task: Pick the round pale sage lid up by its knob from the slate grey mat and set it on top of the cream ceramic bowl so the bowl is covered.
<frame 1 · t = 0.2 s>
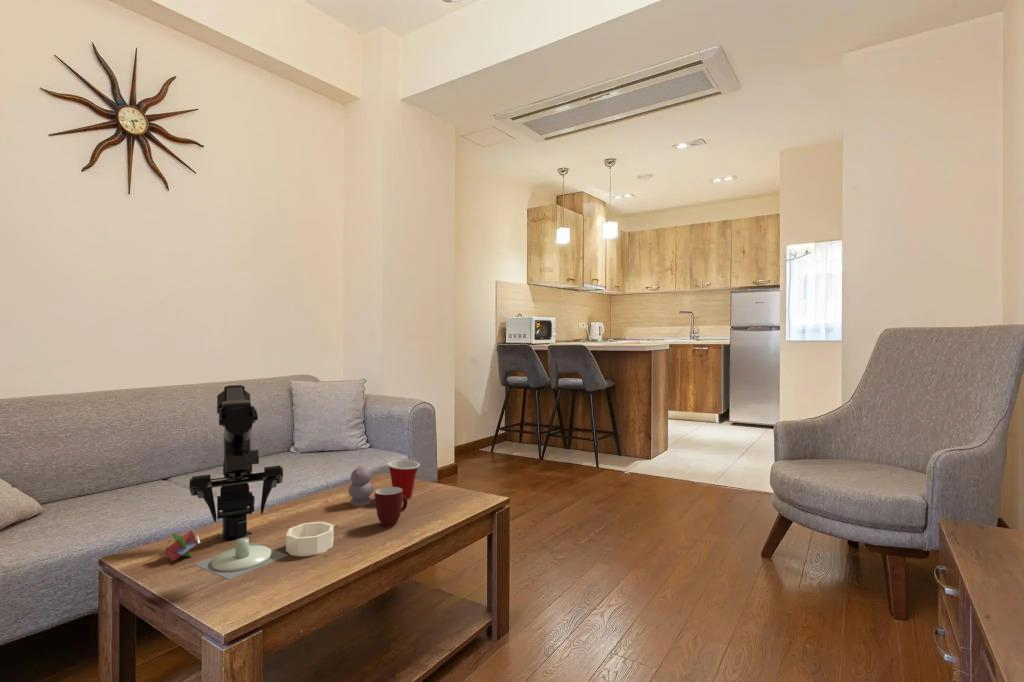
hand: (239, 517, 113), 15 cm above the table, tool tilted 30°, fingers open, 9 cm apart
lid: (242, 559, 124), resting on mat
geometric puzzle: (181, 560, 125), on the table
mat: (242, 561, 124), on the table
plastic cup: (403, 498, 174), on the table
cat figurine: (360, 503, 168), on the table
mug: (392, 523, 150), on the table
bowl: (310, 548, 132), on the table
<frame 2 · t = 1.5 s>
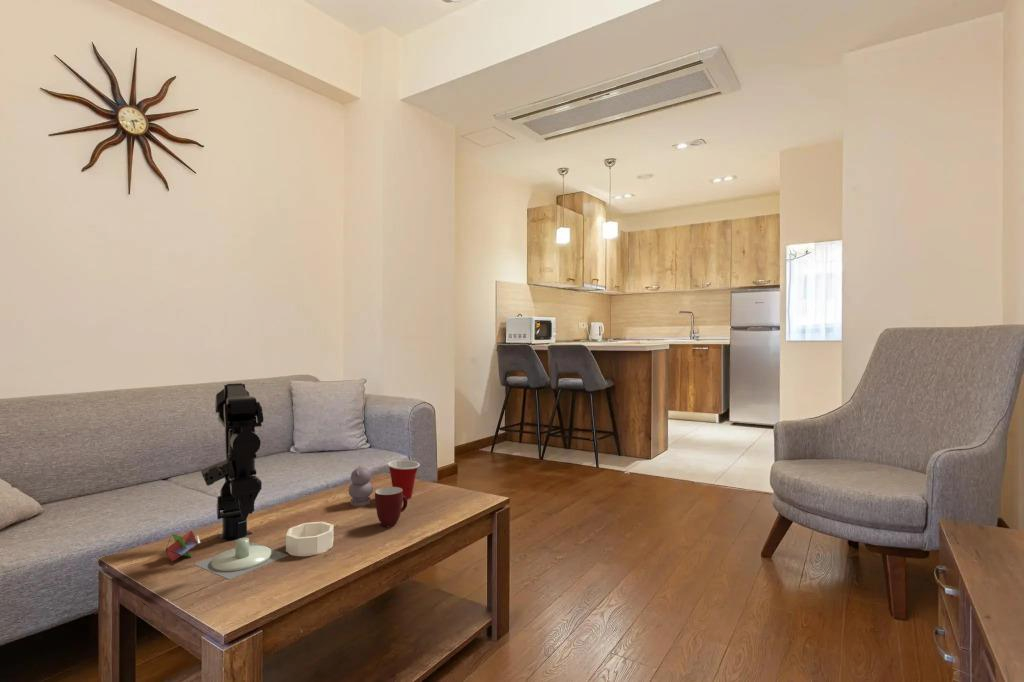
hand: (242, 512, 124), 12 cm above the table, tool pointing down, fingers open, 9 cm apart
nothing on the table moved.
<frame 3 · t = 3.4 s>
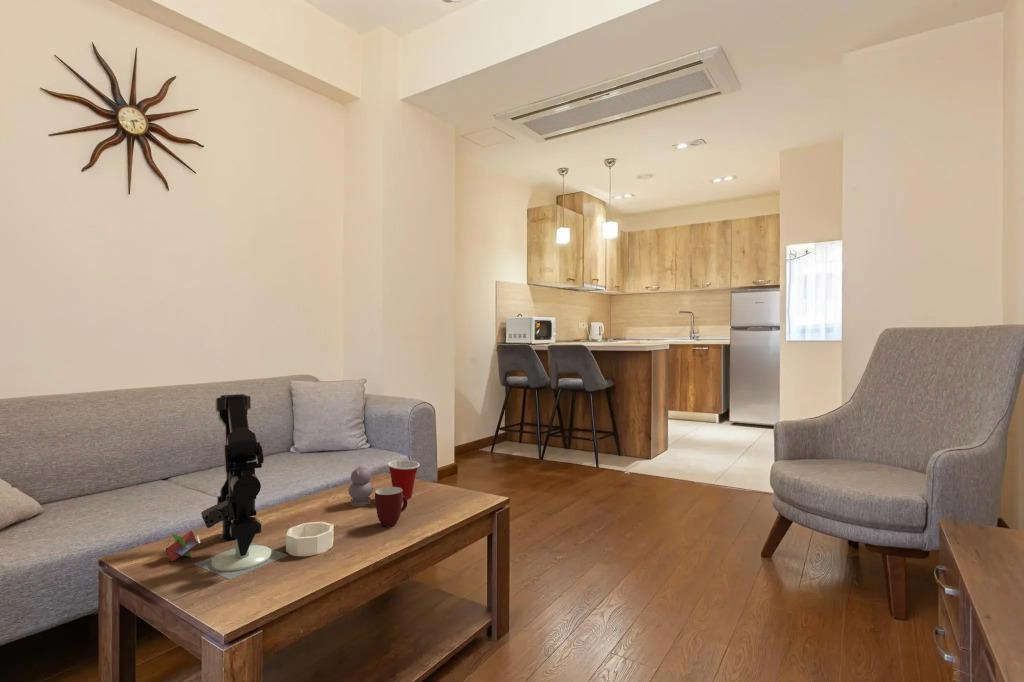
hand: (242, 553, 124), 2 cm above the table, tool pointing down, fingers closed on lid, 3 cm apart
lid: (242, 559, 124), point 1 cm above the table, touching gripper, mat
everything else where it was.
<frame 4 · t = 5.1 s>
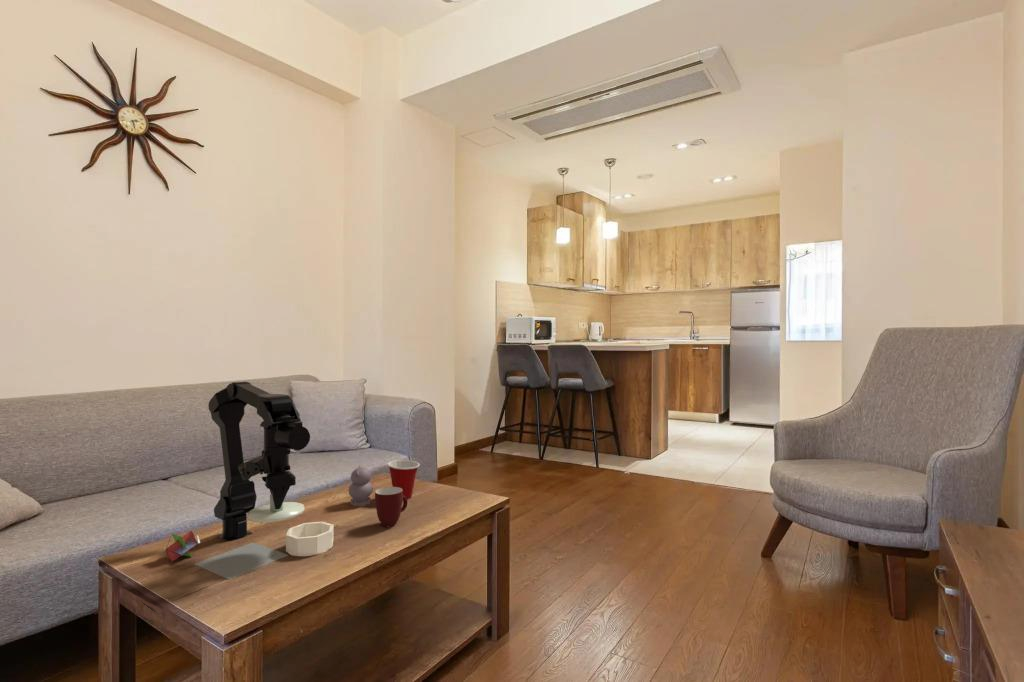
hand: (276, 507, 128), 12 cm above the table, tool pointing down, fingers closed on lid, 3 cm apart
lid: (276, 513, 128), point 11 cm above the table, touching gripper
everything else where it was.
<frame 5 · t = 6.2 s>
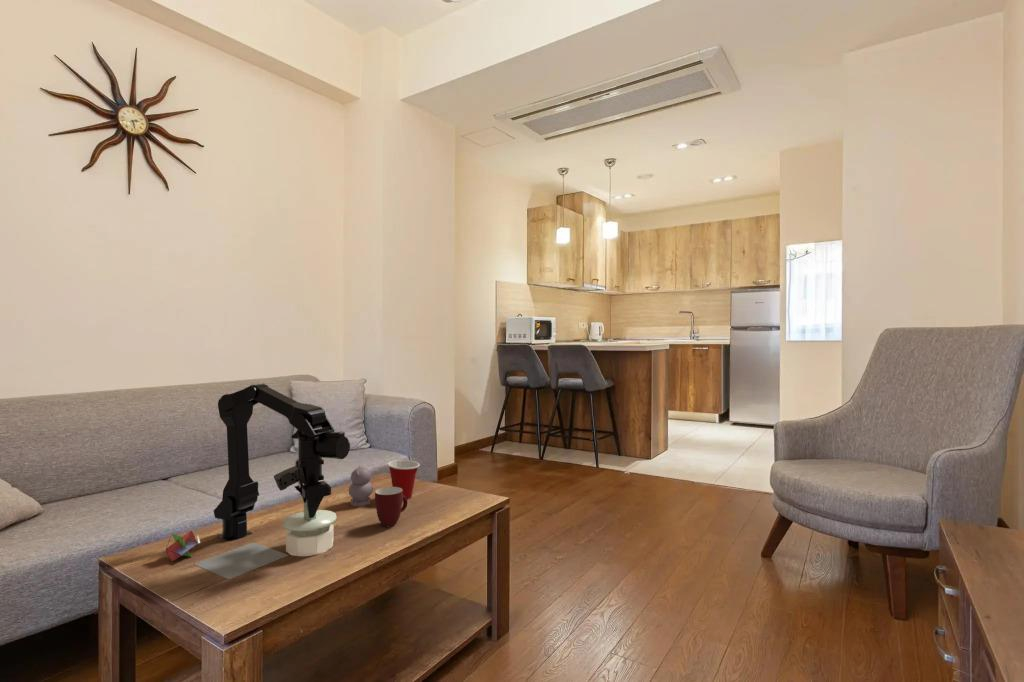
hand: (310, 515, 132), 9 cm above the table, tool pointing down, fingers closed on lid, 3 cm apart
lid: (310, 521, 132), point 7 cm above the table, touching gripper
everything else where it was.
when the fingers open (8 cm above the table, at t = 7.0 s): lid drops 1 cm, resting on bowl.
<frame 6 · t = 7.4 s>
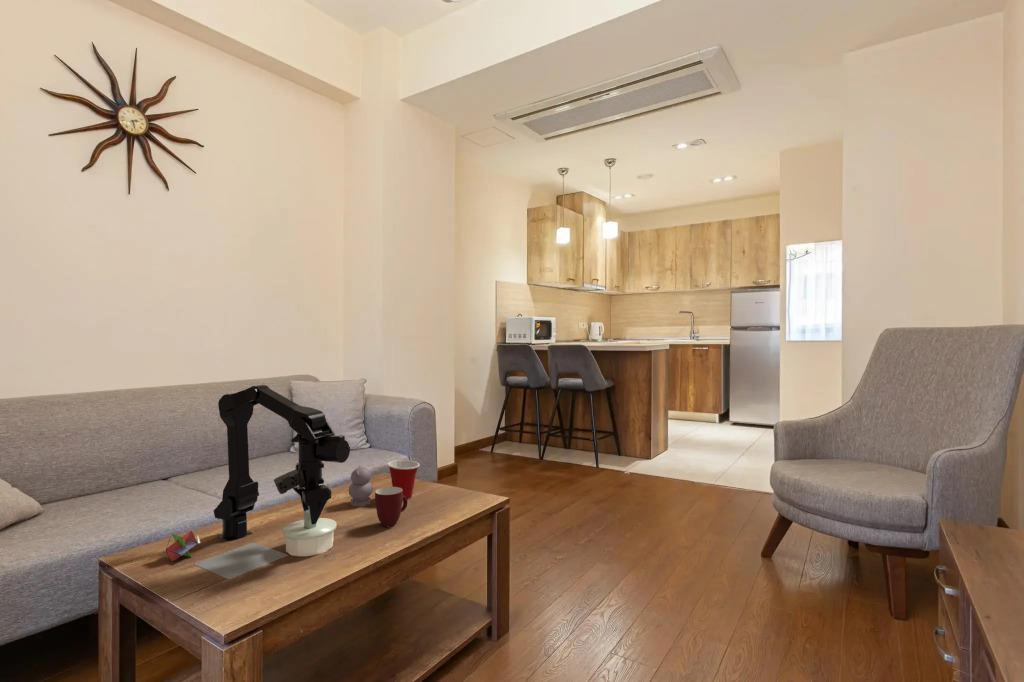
hand: (310, 519, 132), 8 cm above the table, tool pointing down, fingers open, 8 cm apart
lid: (310, 529, 132), point 5 cm above the table, touching bowl
everything else where it was.
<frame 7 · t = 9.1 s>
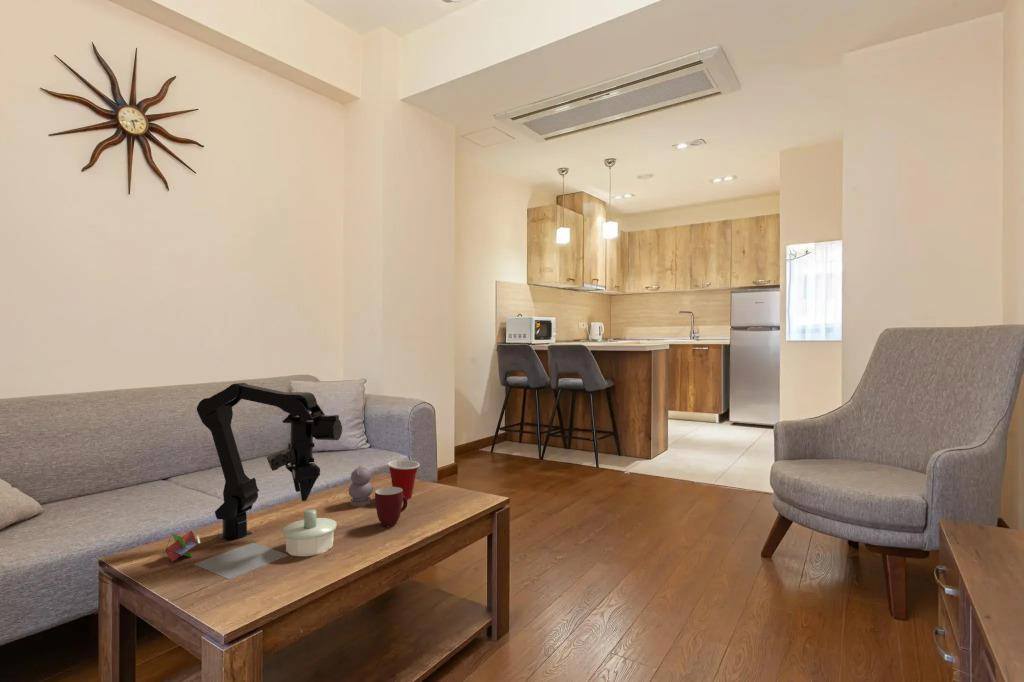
hand: (300, 496, 138), 12 cm above the table, tool pointing down, fingers open, 9 cm apart
nothing on the table moved.
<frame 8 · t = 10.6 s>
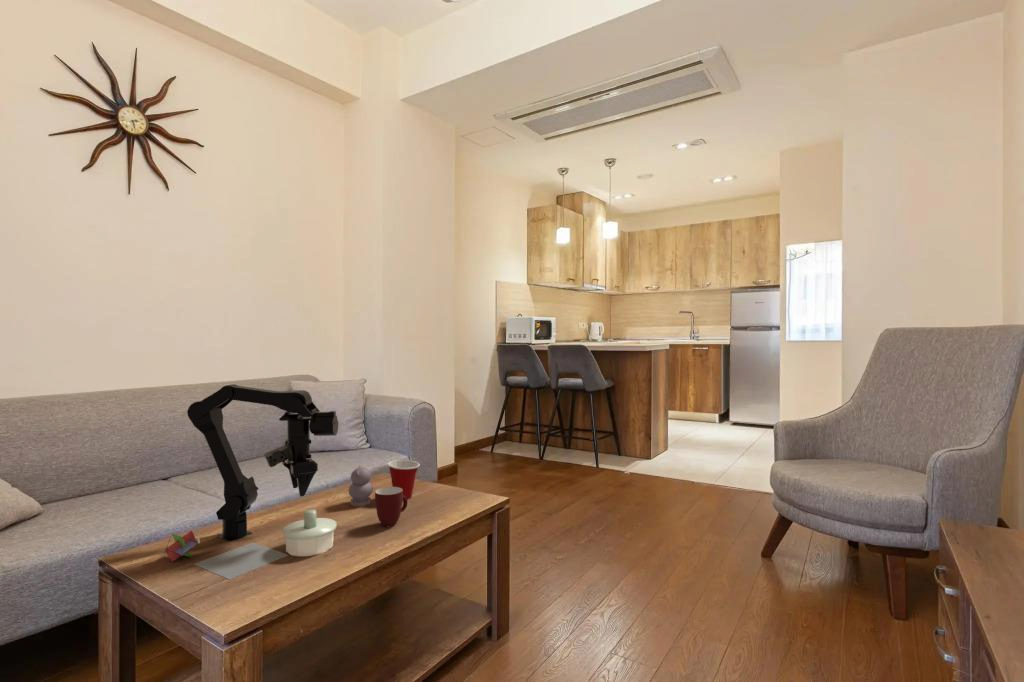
hand: (298, 491, 141), 12 cm above the table, tool pointing down, fingers open, 9 cm apart
nothing on the table moved.
at the end: lid 0.0 cm off-centre on the bowl, point 5.0 cm above the bowl's base; lid tilted 0°; lid touching bowl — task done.
